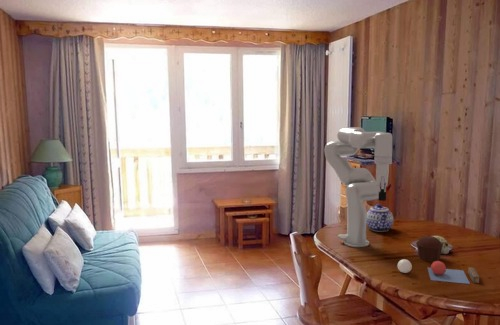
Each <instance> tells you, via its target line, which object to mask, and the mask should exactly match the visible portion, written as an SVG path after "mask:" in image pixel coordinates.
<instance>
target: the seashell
mask: <svg viewBox="0 0 500 325" xmlns="http://www.w3.org/2000/svg"><path fill="white" fill-rule="evenodd" d="M432 236H433V237H436V238H437V239H438V240H439V241H440V242H441V243H442V245H443V247H442V251H441V255H447V254H450V253H449V252H450V247H449V244H450V243H449V242H448V241H447V239H445V238H444V236H440V235H432Z"/></svg>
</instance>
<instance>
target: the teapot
mask: <svg viewBox="0 0 500 325" xmlns="http://www.w3.org/2000/svg"><path fill="white" fill-rule="evenodd" d="M382 205H383V204H382V203H376V204H374V205H373V206H371V207H369V210H368V211H367V220H366V227H368V228H369V229H370V230H371V231H373V232H379V233H380V232H381V233H382V232H383V233H384V232H388V231H389V230H390V229H391V228H392V227H393V225H394V215H393V213H392V212H391V211H390V210H389V208H388V207H385V206H382Z"/></svg>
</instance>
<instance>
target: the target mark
mask: <svg viewBox="0 0 500 325" xmlns="http://www.w3.org/2000/svg"><path fill="white" fill-rule="evenodd" d="M427 272H428V275H429V278H430V279H429V280H430V281H435V282H445V283H455V284H465V285H470V284H471V282H470V281H469V279H468V277H467V275H466V273H465V271H464V270H461V269H451V268H450V269H449V268H446V271H445V273H444V274H442V275H436V274H434V273H433V272H432V270H431V267H429V266H428V267H427Z"/></svg>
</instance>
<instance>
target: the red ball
mask: <svg viewBox="0 0 500 325" xmlns="http://www.w3.org/2000/svg"><path fill="white" fill-rule="evenodd" d="M430 268H431V270H432V272H433V273H434V274H436V275H442V274H444V273H445V271H446V269H447V266H446V265H445V263H444V262H443V261H440V260H438V261H432V263H431V264H430Z"/></svg>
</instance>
